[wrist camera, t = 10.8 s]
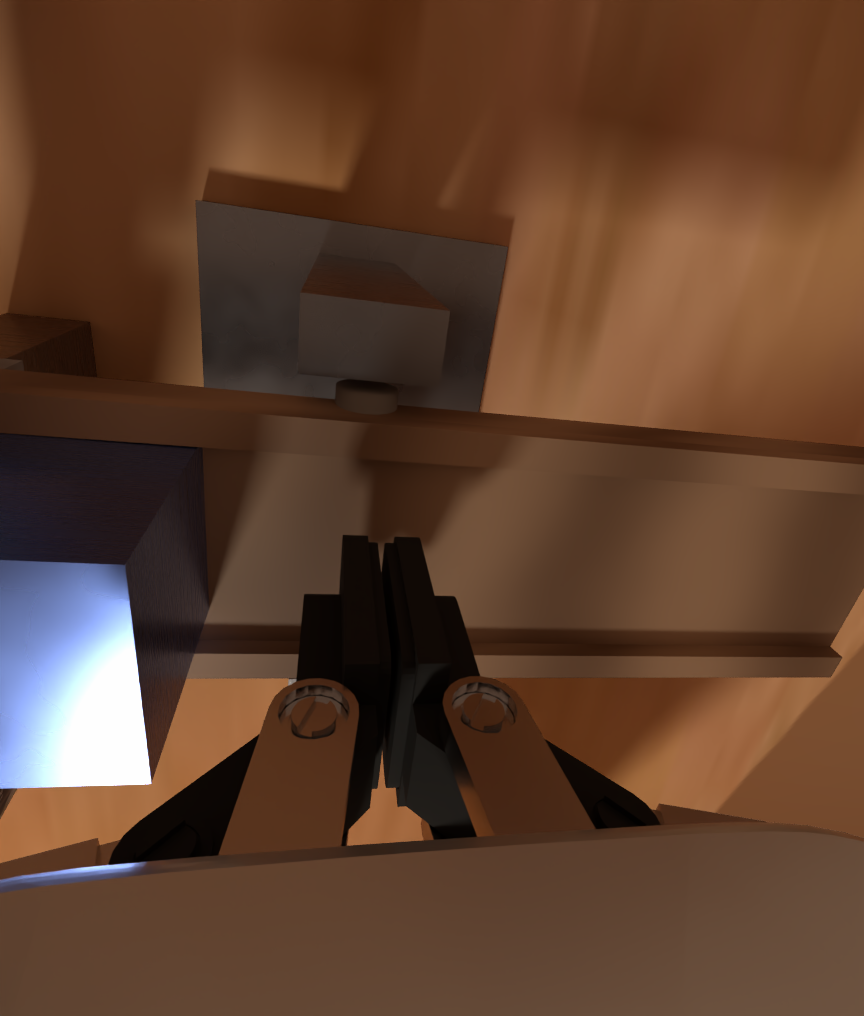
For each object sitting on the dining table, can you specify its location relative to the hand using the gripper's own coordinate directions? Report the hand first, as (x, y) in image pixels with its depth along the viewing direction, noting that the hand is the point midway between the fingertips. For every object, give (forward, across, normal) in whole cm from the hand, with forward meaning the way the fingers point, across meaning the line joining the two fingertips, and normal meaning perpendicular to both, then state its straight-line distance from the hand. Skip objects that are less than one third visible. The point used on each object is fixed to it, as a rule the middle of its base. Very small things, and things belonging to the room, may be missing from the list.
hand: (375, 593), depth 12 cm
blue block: (+2, +6, -1) cm, 7 cm away
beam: (+6, 0, 0) cm, 7 cm away
